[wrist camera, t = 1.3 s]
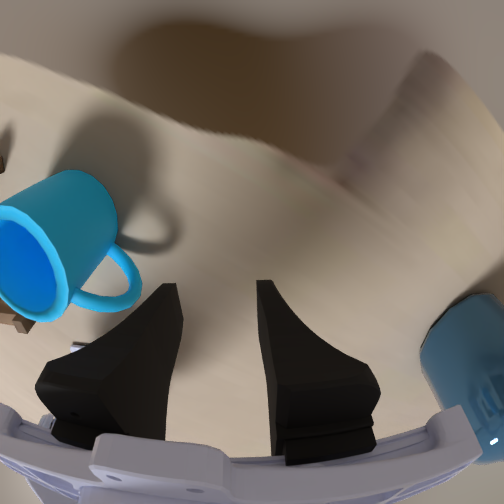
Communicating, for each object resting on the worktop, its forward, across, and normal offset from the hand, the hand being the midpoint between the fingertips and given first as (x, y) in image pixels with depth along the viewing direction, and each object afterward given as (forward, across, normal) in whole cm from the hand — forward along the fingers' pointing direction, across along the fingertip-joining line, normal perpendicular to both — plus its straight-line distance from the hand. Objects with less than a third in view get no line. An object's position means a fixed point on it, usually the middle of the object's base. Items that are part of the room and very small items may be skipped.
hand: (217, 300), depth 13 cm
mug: (+10, +11, 0) cm, 15 cm away
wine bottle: (+10, -27, +15) cm, 32 cm away
